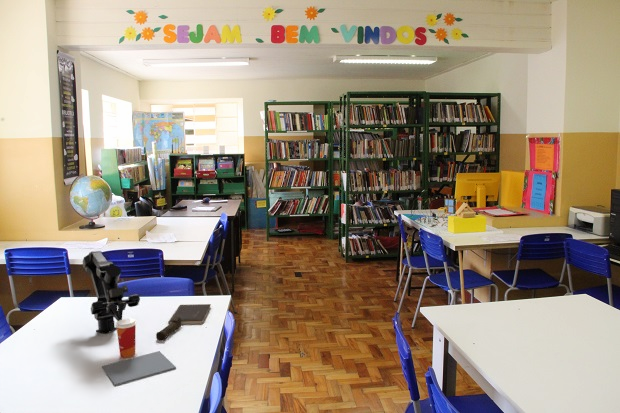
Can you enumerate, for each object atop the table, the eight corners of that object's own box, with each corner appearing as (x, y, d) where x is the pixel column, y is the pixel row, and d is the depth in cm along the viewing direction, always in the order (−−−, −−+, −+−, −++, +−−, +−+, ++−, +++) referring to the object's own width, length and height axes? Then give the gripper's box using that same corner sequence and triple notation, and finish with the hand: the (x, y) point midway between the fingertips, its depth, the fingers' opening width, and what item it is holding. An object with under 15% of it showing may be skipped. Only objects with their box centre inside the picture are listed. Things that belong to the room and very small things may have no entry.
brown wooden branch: (164, 341, 212) (163, 331, 211) (156, 340, 213) (155, 330, 212) (186, 325, 230) (185, 316, 229) (178, 324, 231) (177, 315, 230)
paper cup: (120, 351, 201) (118, 318, 199) (140, 350, 202) (138, 317, 200) (114, 359, 194) (112, 325, 192) (135, 359, 194) (133, 324, 192)
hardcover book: (210, 308, 254) (210, 304, 254) (202, 324, 231) (202, 320, 231) (179, 309, 254) (179, 304, 253) (168, 325, 231) (168, 320, 230)
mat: (101, 367, 187) (101, 365, 187) (159, 352, 200) (159, 350, 200) (114, 385, 173) (114, 384, 173) (175, 368, 186) (175, 367, 186)
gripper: (90, 283, 199) (99, 317, 192) (137, 275, 210) (147, 307, 203) (87, 297, 206) (95, 330, 199) (132, 289, 217) (142, 320, 210)
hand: (120, 322), depth 203 cm, fingers closed
